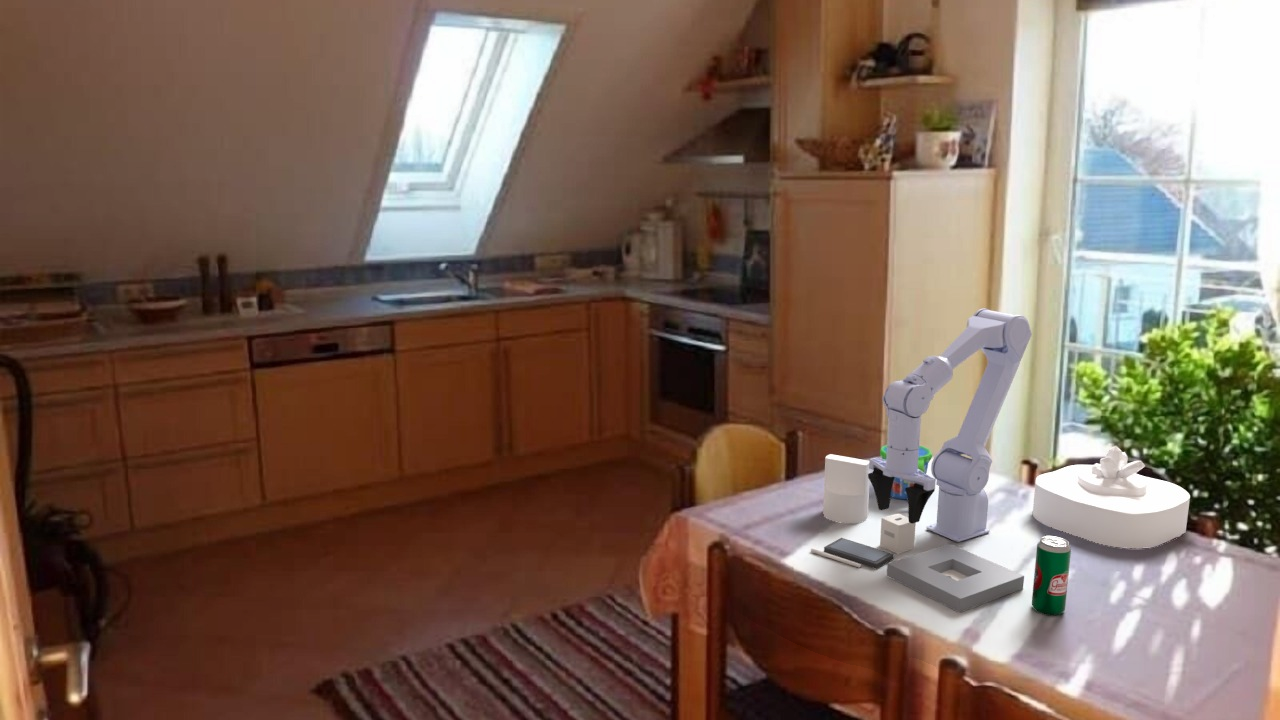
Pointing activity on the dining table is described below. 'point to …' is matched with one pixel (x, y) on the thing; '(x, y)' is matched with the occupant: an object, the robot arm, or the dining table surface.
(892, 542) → the brick
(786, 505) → the dining table surface
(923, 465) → the snack cup
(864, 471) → the white rounded block
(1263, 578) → the dining table surface
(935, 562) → the socket plate
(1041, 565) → the soda can
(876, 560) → the tablet with stylus
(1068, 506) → the tissue box
